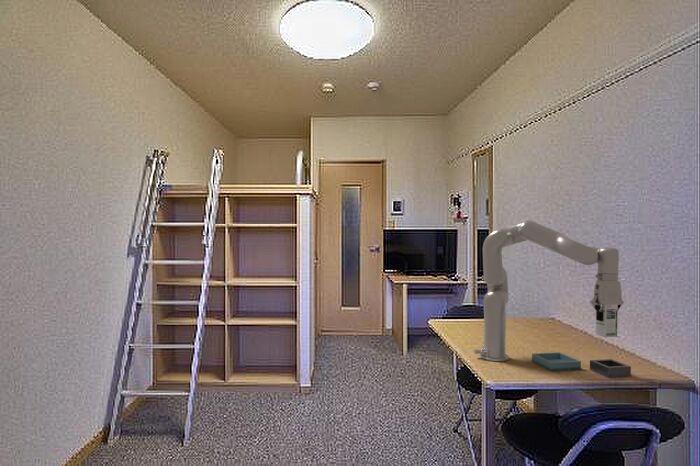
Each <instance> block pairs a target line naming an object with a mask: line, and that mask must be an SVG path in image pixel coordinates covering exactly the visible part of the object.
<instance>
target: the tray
mask: <svg viewBox="0 0 700 466" xmlns="http://www.w3.org/2000/svg"><path fill="white" fill-rule="evenodd" d="M531 362H533V363H534V364H537V365H538V366H540V367H542V368H544V369H546V370H548V371H551V372H562V371H564V372H565V371H577V370H578V371H580V370H581V369H582V368H581V367H582V362H581V360H579V359H577V358H575V357H572V356H570V355H567V354H565V353H562V352H559V351H558V352H540V353H539V352H538V353H531Z"/></svg>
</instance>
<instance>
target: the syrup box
mask: <svg viewBox="0 0 700 466" xmlns="http://www.w3.org/2000/svg"><path fill="white" fill-rule="evenodd" d="M596 304H597V303H596ZM599 307H600V305H599ZM602 312H603V321H599V320H596V319H595V334H596V335H598V336H599V337H603V338H617V337H618V312H619V310H618V305H603V309H602Z"/></svg>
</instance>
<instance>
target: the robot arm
mask: <svg viewBox="0 0 700 466" xmlns="http://www.w3.org/2000/svg"><path fill="white" fill-rule="evenodd" d="M526 241H529V242H530V243H533V244H536V245H538V246H540V247H542V248H544V249H547V250H549V251H552V252H554V253H557V254H559V255H561V256H564V257H566V258H568V259H570V260H573V261H575V262H577V263H579V264H582V265H584V266H593V265H594V264H597V274H595V278H596V280H595V285H594V290H593V298H592V299H591V300H590V302H589V304H590V305H591V306H592V308H594V310H595V321H596V320H599V321H603V312H602V309H603V305H618V311H619V310H620V308H621V306H623V305H624V303H625V301H624V300H623V298H622V297H623V296H622V285H621V282H620V280H619V259H620V258H619V256H620V252H619V249H618V248H615V247H594V246H589V245H586V244H583V243H580V242H578V241H576V240H574V239H572V238H570V237H568V236H566V235H564V234H563V233H561V232H560V231H557V230H554V229H552V228H549V227H548V226H547V227H546V226H544V225H542V224H540V223H539V222H538V223H537V222H536V221H534V220H529V219H528V220H524V221H523V222H521V223H518V224H514V225H512V226H508V227H505V228H503V227H501V228H498V229H495V230H494V231H492V232H491V233H489V235H487V236H486V238H485V239H484V241H483V245H482V265H483V266H482V267H483V280H484V282H485V283H486V287H487V292H486V293H485V294H484V296H483V316H484V317H483V346H481V348H480V349H473V353H474V354H475V355H476V354H477V355H478V354H479V355H480V358H481V359H482V360H486V361H491V362H506V361H508V360H509V359H510V356H509V355H508V354H506V341H507V340H506V335H507V334H506V333H507V332H506V330H507V329H506V328H507V320H506V319H507V315H506V313H507V312H506V305H507V303H508V301H509V286H508V282H509V281H508V273H507V271H506V269H505V267H503V254H502V252H503V251H502V250H503V248H506V247H509V246H513V245H515V244H519V243H522V242H526ZM596 303H597V304H596ZM599 305H600V307H599Z"/></svg>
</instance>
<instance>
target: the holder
mask: <svg viewBox="0 0 700 466" xmlns="http://www.w3.org/2000/svg"><path fill="white" fill-rule="evenodd" d="M589 370H590V371H592V372H595V373H597V374H599V375H601V376H603V377H606V378H609V379H610V378H623V377H625V378H628V377H631V376H632V374H631V372H632V367H631V366H630V365H628V364H626V363H622V362H620V361H618V360H616V359H615V360H614V359H612V358H606V359H604V358H603V359H590V360H589Z"/></svg>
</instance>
